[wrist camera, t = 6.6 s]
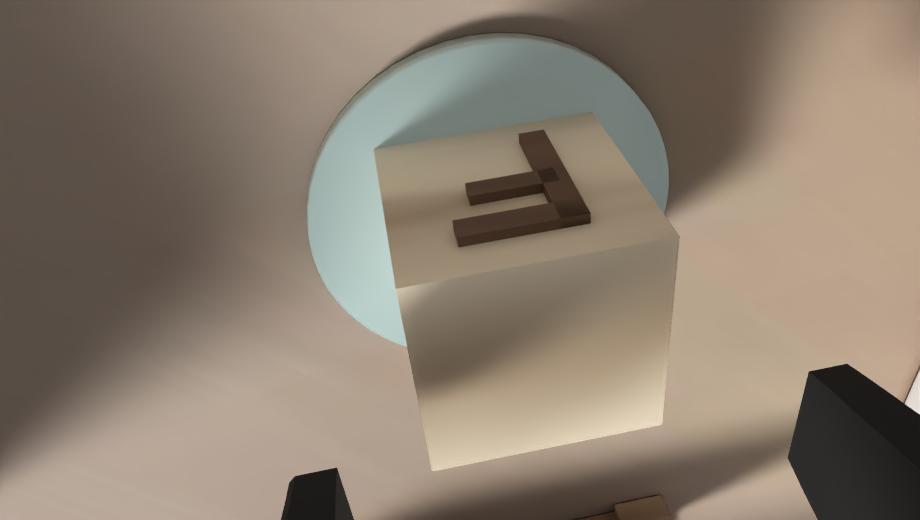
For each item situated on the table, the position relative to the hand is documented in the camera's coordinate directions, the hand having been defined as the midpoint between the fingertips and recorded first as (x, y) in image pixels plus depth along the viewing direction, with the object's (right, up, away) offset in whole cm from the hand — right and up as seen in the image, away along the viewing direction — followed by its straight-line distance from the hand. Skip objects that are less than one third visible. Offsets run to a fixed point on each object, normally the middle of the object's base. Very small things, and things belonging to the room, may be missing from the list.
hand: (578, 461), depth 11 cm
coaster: (-1, +4, +6) cm, 7 cm away
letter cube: (-1, +4, +5) cm, 7 cm away
